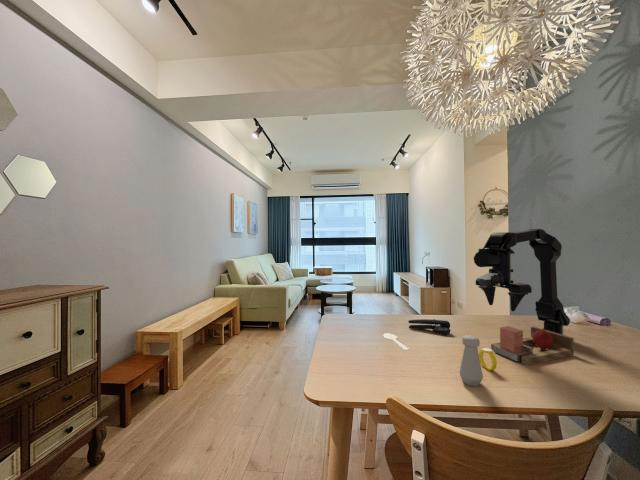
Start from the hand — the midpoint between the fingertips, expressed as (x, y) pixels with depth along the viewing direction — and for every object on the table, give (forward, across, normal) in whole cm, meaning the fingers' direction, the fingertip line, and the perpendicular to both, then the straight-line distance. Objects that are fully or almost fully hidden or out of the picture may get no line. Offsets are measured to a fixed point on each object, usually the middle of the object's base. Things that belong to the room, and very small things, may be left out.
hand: (501, 308), depth 101 cm
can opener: (+15, -23, -14) cm, 31 cm away
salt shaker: (+15, +18, -30) cm, 38 cm away
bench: (+15, +6, +6) cm, 17 cm away
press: (+14, +7, -3) cm, 16 cm away
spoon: (+15, -16, -35) cm, 41 cm away
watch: (+15, +12, -19) cm, 27 cm away
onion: (+15, +6, +12) cm, 20 cm away
